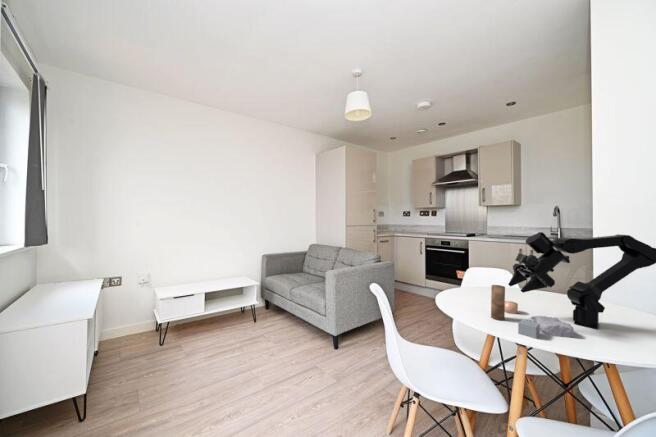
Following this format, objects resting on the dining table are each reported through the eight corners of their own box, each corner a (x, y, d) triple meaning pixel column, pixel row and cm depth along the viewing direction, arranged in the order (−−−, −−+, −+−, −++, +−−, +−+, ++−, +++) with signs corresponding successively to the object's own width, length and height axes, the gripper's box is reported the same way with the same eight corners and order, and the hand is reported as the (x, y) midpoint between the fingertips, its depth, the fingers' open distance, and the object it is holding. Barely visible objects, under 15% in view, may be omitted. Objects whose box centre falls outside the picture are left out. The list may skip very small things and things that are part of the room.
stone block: (545, 341, 91) (578, 338, 89) (542, 327, 92) (575, 324, 90) (527, 328, 103) (555, 325, 101) (524, 316, 103) (552, 313, 101)
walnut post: (506, 318, 106) (506, 286, 106) (502, 321, 103) (502, 288, 103) (493, 315, 110) (493, 284, 110) (489, 318, 107) (489, 286, 107)
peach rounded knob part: (519, 312, 114) (519, 303, 114) (515, 315, 111) (515, 305, 111) (505, 309, 118) (505, 300, 118) (501, 311, 115) (502, 302, 115)
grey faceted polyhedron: (539, 335, 92) (539, 323, 92) (535, 339, 89) (536, 327, 89) (522, 330, 96) (522, 319, 96) (518, 334, 93) (518, 322, 93)
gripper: (518, 244, 114) (489, 269, 116) (546, 249, 95) (511, 278, 97) (538, 263, 113) (509, 288, 114) (570, 272, 94) (535, 301, 96)
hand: (515, 288), depth 106 cm, fingers open, 9 cm apart
